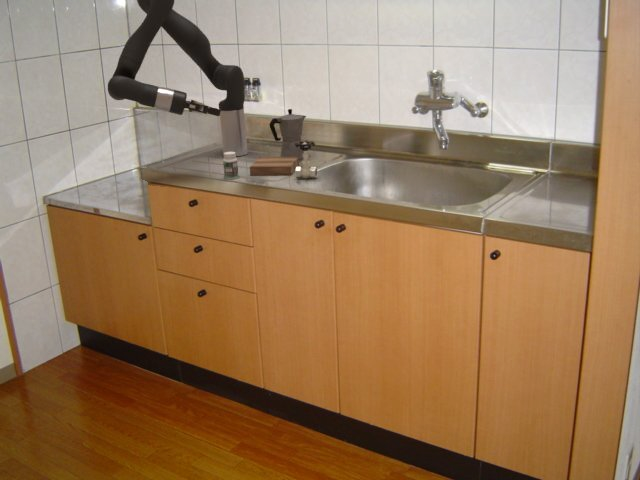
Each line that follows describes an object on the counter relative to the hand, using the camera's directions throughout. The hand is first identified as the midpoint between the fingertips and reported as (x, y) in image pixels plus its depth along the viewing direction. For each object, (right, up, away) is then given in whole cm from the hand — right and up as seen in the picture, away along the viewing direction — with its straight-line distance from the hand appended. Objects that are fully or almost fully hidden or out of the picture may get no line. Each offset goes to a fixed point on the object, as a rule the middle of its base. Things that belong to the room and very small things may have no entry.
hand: (218, 112), depth 244 cm
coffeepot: (+23, -13, +24) cm, 36 cm away
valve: (+29, -23, -4) cm, 37 cm away
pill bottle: (+4, -22, +2) cm, 22 cm away
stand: (+18, -18, +8) cm, 27 cm away
